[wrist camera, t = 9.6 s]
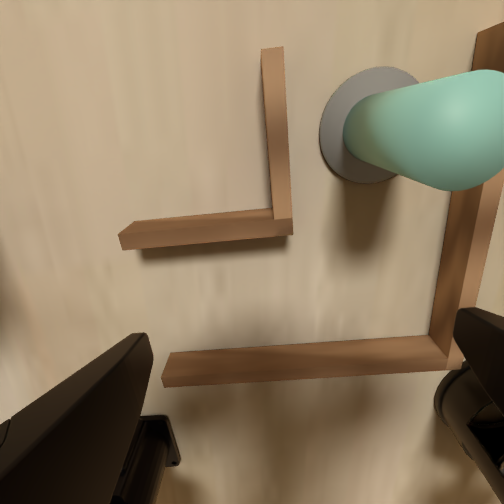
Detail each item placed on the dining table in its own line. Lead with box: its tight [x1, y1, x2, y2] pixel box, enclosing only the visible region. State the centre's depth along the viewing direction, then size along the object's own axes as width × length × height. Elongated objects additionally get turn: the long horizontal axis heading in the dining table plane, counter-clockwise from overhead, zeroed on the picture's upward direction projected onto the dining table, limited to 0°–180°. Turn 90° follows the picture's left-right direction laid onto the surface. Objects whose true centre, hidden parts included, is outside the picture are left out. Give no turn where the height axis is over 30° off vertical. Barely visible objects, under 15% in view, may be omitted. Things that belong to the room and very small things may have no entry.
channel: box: [118, 22, 504, 388], centre depth 18 cm, size 20×21×2 cm
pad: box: [319, 67, 420, 183], centre depth 17 cm, size 6×6×1 cm
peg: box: [343, 70, 504, 191], centre depth 13 cm, size 4×4×8 cm
